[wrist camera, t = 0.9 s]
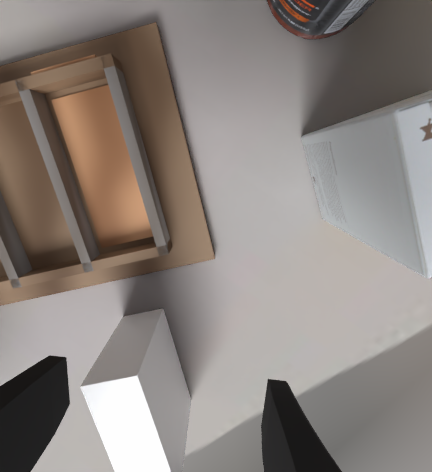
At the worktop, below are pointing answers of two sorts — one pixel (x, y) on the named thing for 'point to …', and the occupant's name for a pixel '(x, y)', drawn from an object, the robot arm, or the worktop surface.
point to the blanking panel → (140, 396)
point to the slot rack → (94, 169)
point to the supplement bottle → (317, 15)
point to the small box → (379, 179)
